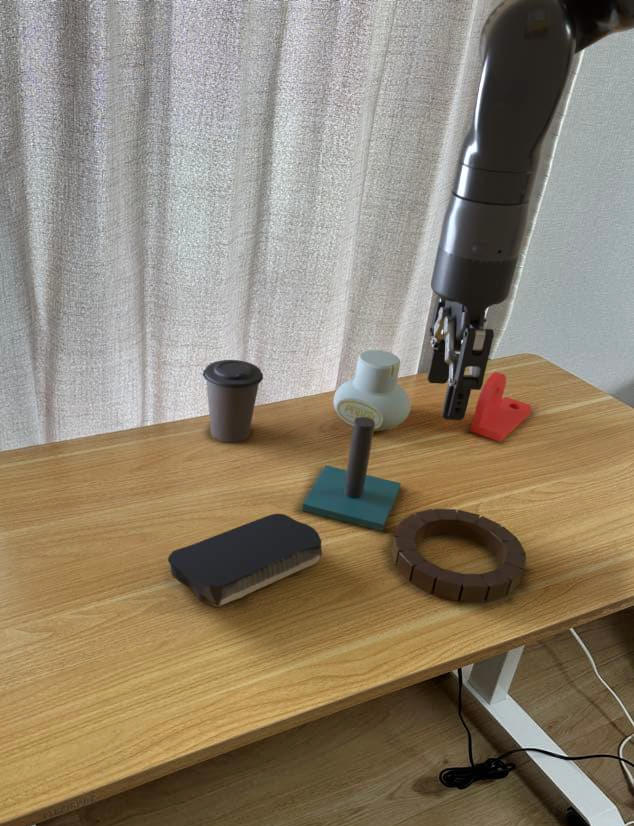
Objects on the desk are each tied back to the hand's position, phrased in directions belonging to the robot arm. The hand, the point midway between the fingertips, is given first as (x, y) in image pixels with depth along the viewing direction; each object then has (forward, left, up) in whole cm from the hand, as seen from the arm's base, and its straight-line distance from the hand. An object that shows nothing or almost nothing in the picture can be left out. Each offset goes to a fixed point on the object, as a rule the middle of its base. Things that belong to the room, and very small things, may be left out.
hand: (444, 399), depth 86 cm
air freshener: (+11, -24, -17) cm, 31 cm away
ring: (-6, +4, -17) cm, 18 cm away
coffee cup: (+28, -12, -17) cm, 35 cm away
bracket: (-7, -33, -17) cm, 37 cm away
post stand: (+8, -3, -17) cm, 19 cm away
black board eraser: (+15, +16, -17) cm, 28 cm away
